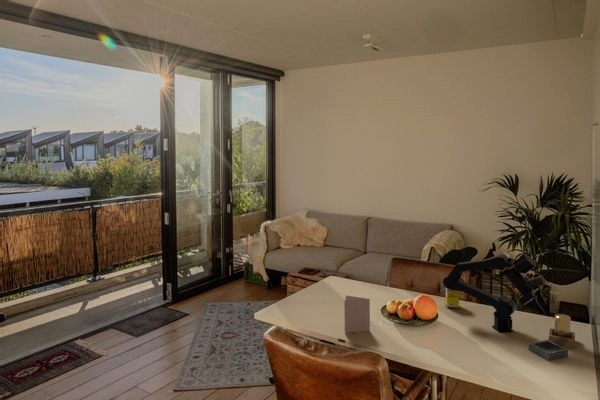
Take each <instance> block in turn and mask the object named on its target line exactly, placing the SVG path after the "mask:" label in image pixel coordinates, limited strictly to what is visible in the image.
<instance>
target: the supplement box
mask: <svg viewBox="0 0 600 400" xmlns="http://www.w3.org/2000/svg"><path fill="white" fill-rule="evenodd" d="M444 304H445V307H446V308H447V307H448V308H447V309H453V308H459V309H460V291H454V290H451V289H447V288H446V287H445V302H444Z"/></svg>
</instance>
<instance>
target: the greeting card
mask: <svg viewBox="0 0 600 400" xmlns="http://www.w3.org/2000/svg"><path fill="white" fill-rule="evenodd" d="M343 302H344V306H343V307H344V333H345V332H355V333H364V332H363V331H369V332H370V331H371V315H370V314H371V310H370V309H371V307H370V306H371V305H370V304H371V301H370V298H366V297H360V296H359V297H357V296H354V295H353V296H352V295H345V300H344V301H343Z"/></svg>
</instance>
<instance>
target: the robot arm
mask: <svg viewBox="0 0 600 400" xmlns="http://www.w3.org/2000/svg"><path fill="white" fill-rule="evenodd" d="M535 267H537V263H536V261H535V260H534V258H533V257H531V256H529V255H527V254H526V253H523V254H522V255H520V257H519V258H517V259H516V258H511V257H509V256H507V255H505V254H504V253H503V254H498V255H494V256H492V257H489V258H485V259H480V260H479V259H478V260H472V261H471V260H470V261H464V262H460V261H459V262H458V263H456V264H455V265H454V267H453V269H452V270H451V271H450V272H449V274H448V275H447V276H446V277H444V278H443V280H442V283H443V287H444V288H445V289H446V288H447V289H451V290H454V291H459V292H462V293H464V294H466V295H468V296H470V297H473V298H475V299H477V300H479V301H481V302H484V303H485V304H488V305H490V306H491V307H492V308H493V309H494V310H495V311H494V312H493V316H494V318H493V325H492V326H491V328H493V329H494V330H495V331H497V332H498V333H509V332H510V333H511V332H514V329H513V319H512V316H511V315H513V313H515V312H516V310H517V307H518V306H517V302H516V301H515V300H514V299H513V297H508V296H507V295H505V294H501V295H500V296H497V295H494V294H492V293H489V292H487V291H485V290H483V289H481V288H479V287H476V286H474V285H472V284H470V283H467V282H466V281H465V280H464V279H463V278H462V276H463V273H464V272H469V271H477V270H484V269H489V270H493V271H494V270H497V271H498V270H499V276H498V277H499V278H500V279H501V278H503V277H505V278H506V279H507V280H508V282H510V284H511V285H513V286H512V288H513V289H516V290H517V291H518V292H519V293H520V294H519V296H520V297H519V298H518V303H519V304H520V305H521V306H524V307H527V308H530V309H532V310H534V311H536V312H537V313H540V314H544V313H545V310H544V309H543V308H542V306H543V307H545V308H547V307H548V306H549V305H548V303H547V301H546V299H545V298H544V296H543V294H542V286H544V285H545V284H546V280H545V277H544V276H543V275H542V274H540V273H538V272H537V273H534V275H533V277H530V278H529V277H527V276H524V275H523V274H528V273H529V272H530V271H531V270H533V269H534V268H535Z"/></svg>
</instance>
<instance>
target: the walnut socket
mask: <svg viewBox="0 0 600 400" xmlns="http://www.w3.org/2000/svg"><path fill="white" fill-rule="evenodd" d="M575 335H576V333H575V331H571V330H570V338H564V337H559V336H554V327H553V328H552V327H549V331H548V340H550V341H552V342H554V343H556V344H558V345H560V346H562V347H564V348H567V349H568V348H570V349H575V345H576V344H575V343H576V336H575Z"/></svg>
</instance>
